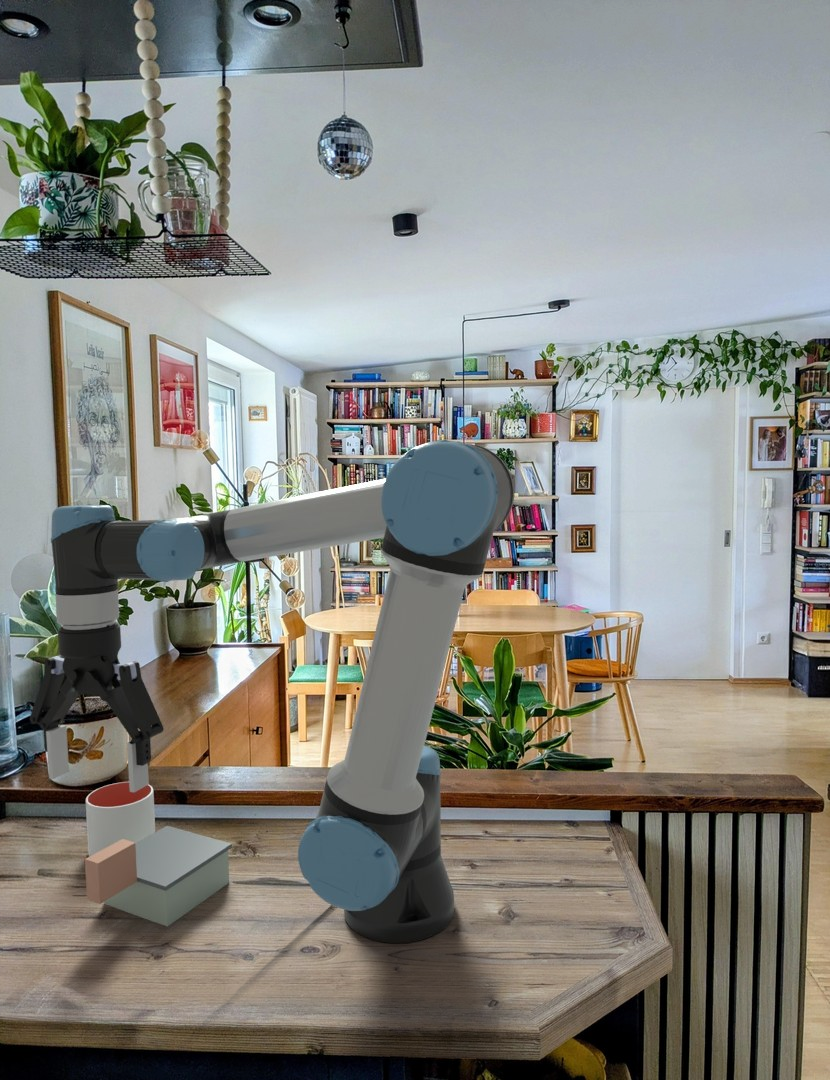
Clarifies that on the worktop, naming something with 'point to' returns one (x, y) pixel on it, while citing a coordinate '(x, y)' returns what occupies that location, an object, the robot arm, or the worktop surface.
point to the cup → (118, 815)
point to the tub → (173, 894)
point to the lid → (149, 862)
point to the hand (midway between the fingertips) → (98, 781)
